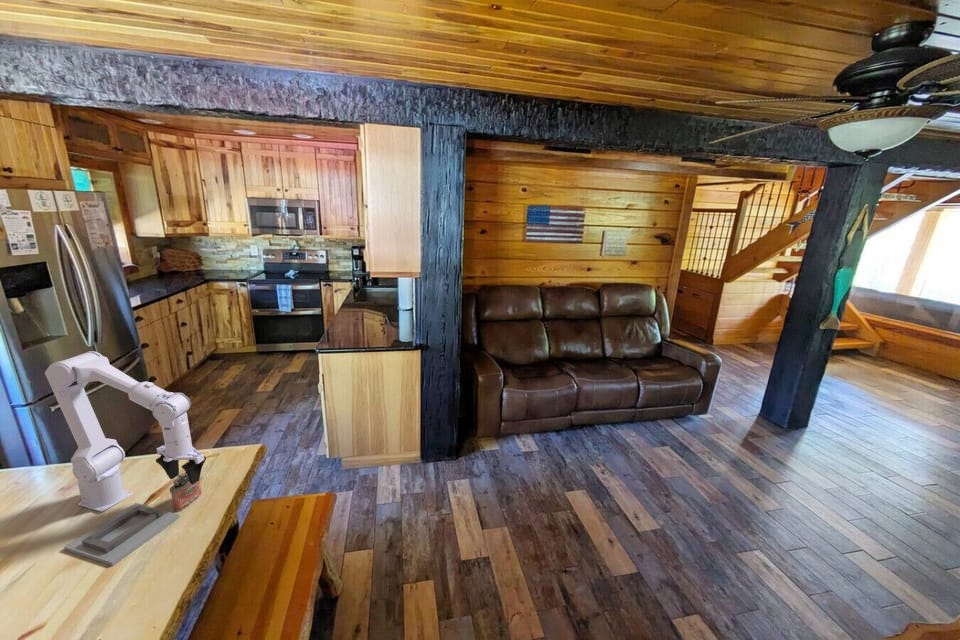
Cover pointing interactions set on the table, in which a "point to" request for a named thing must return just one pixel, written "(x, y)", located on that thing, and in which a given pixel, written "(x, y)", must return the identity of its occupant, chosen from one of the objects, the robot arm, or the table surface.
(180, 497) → the lighter
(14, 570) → the table surface
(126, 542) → the socket dock
